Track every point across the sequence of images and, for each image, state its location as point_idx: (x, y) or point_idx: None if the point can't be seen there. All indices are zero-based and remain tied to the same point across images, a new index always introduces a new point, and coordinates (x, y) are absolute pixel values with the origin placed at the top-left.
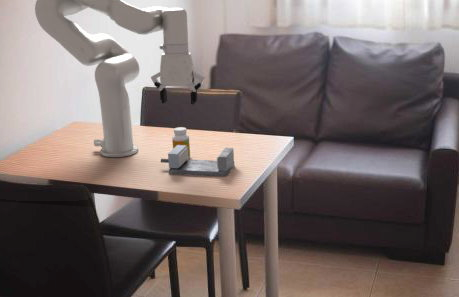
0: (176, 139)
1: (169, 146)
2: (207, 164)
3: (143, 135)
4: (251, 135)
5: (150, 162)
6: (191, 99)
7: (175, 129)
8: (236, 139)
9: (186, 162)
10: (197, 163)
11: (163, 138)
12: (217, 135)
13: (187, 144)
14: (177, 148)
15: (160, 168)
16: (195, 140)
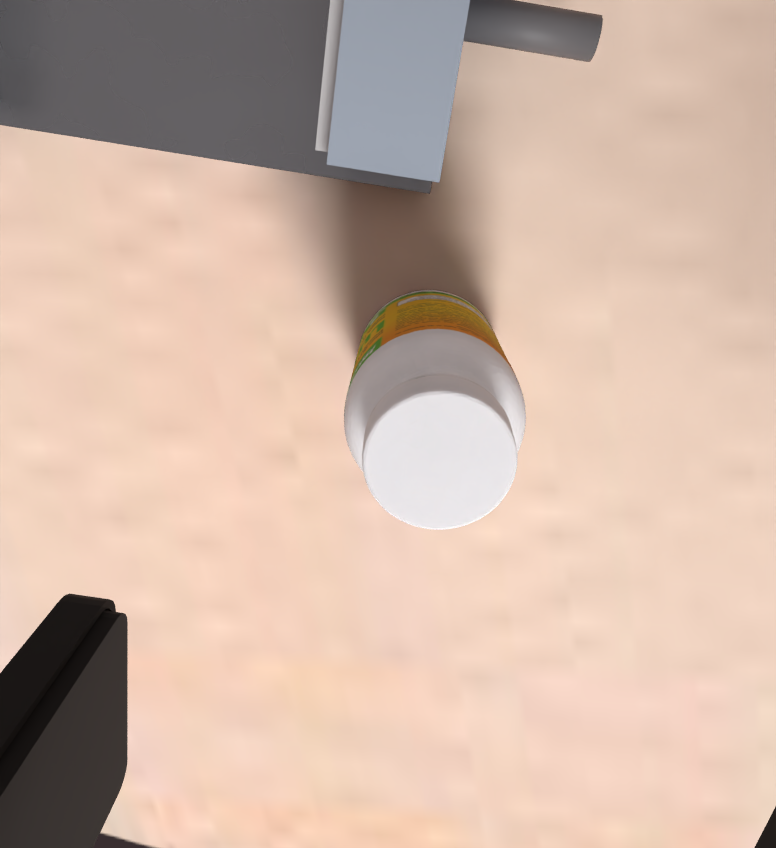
0: (470, 341)
1: (560, 621)
2: (114, 4)
3: None
4: None
5: (691, 234)
6: (38, 683)
7: (495, 436)
8: None
9: None
10: (221, 41)
11: (620, 778)
12: (253, 812)
13: (359, 358)
14: (416, 23)
15: None
16: (386, 730)
